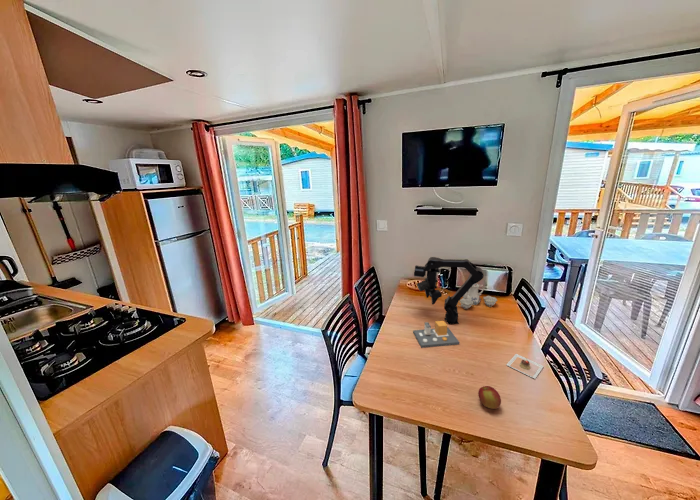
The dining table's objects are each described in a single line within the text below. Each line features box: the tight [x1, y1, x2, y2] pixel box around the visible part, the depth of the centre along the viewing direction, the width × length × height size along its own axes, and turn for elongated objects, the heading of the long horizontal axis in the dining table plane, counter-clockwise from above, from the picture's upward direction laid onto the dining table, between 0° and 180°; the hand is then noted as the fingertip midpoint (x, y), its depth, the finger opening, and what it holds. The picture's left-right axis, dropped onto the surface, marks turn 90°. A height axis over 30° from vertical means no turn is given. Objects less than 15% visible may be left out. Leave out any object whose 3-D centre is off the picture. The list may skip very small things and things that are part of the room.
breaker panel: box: [412, 326, 460, 349], centre depth 149 cm, size 21×14×2 cm, turn 95°
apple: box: [477, 385, 502, 410], centre depth 106 cm, size 8×8×8 cm
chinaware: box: [457, 283, 498, 310], centre depth 182 cm, size 28×17×17 cm, turn 104°
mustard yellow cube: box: [434, 320, 449, 336], centre depth 151 cm, size 5×5×6 cm
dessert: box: [506, 353, 545, 380], centre depth 126 cm, size 12×12×5 cm
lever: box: [423, 321, 432, 335], centre depth 150 cm, size 3×4×6 cm
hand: (430, 300), depth 166 cm, fingers open, 9 cm apart
